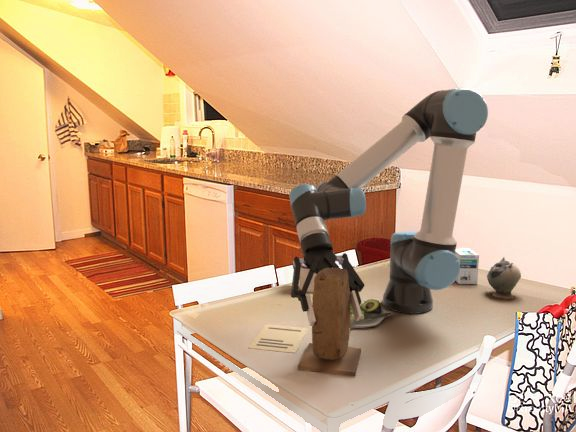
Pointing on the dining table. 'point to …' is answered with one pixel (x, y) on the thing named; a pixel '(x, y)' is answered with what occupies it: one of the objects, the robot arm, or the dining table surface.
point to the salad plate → (369, 314)
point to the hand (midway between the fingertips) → (336, 320)
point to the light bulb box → (467, 266)
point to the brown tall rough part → (331, 313)
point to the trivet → (330, 362)
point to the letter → (279, 338)
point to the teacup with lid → (303, 275)
